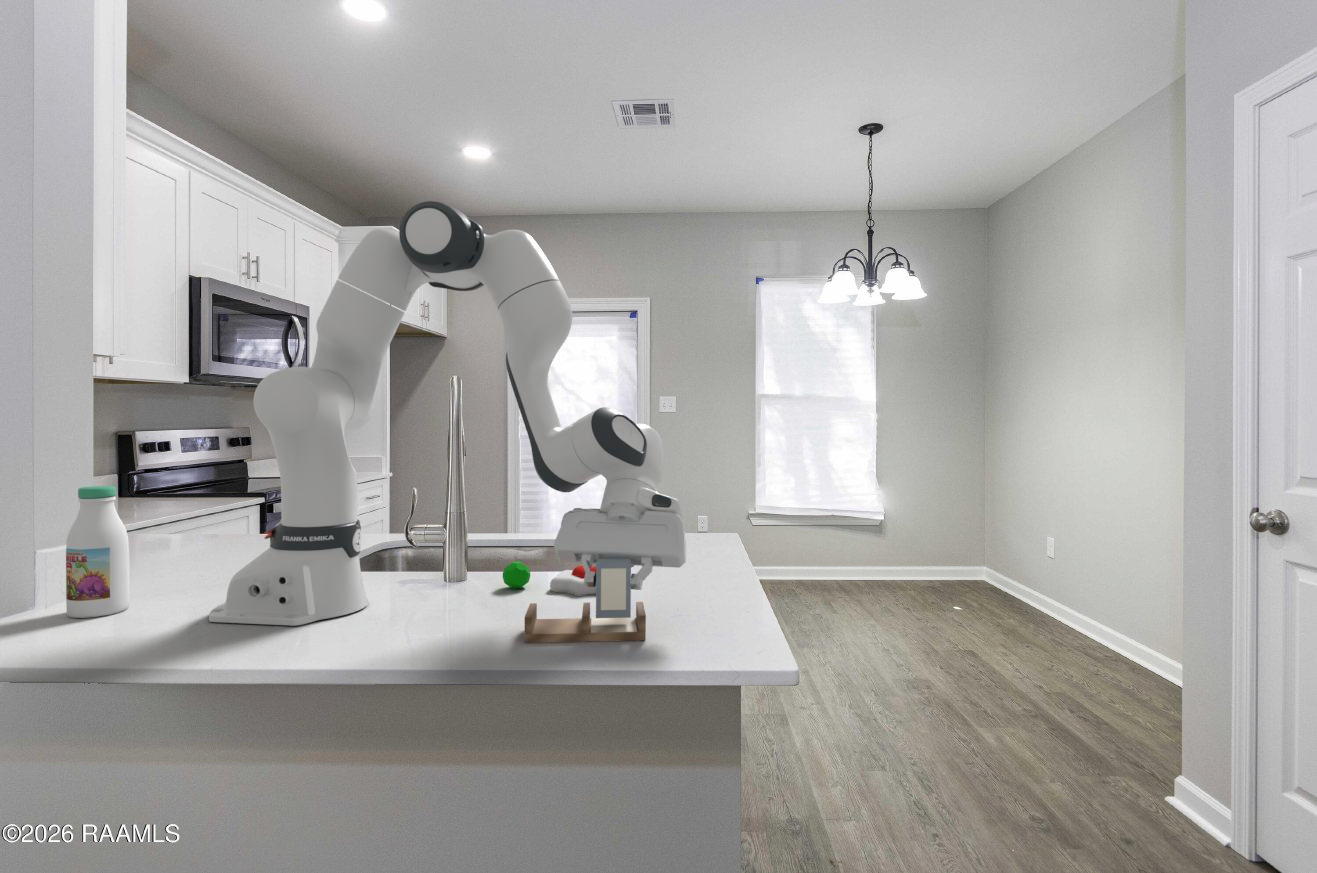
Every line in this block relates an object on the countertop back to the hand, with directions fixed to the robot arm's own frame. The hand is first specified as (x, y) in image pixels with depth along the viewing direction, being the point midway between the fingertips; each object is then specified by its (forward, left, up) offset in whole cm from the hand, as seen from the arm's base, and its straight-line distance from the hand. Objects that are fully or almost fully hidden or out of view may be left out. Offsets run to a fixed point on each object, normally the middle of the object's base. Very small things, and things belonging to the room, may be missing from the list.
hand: (612, 586), depth 97 cm
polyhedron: (-17, +28, -7) cm, 33 cm away
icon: (-5, +26, -8) cm, 27 cm away
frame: (0, +1, -4) cm, 4 cm away
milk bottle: (-81, +16, -7) cm, 83 cm away
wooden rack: (-4, +1, -7) cm, 8 cm away
